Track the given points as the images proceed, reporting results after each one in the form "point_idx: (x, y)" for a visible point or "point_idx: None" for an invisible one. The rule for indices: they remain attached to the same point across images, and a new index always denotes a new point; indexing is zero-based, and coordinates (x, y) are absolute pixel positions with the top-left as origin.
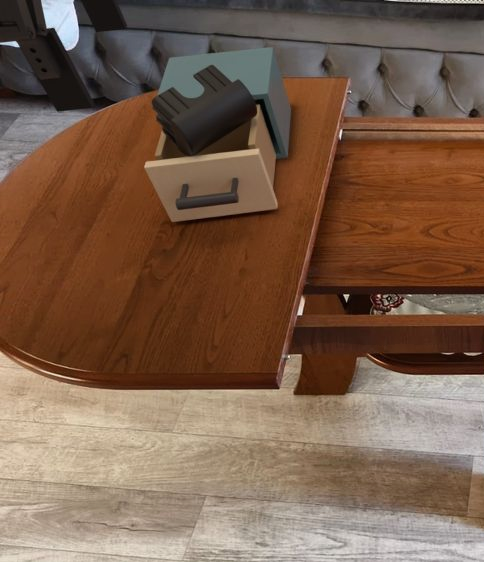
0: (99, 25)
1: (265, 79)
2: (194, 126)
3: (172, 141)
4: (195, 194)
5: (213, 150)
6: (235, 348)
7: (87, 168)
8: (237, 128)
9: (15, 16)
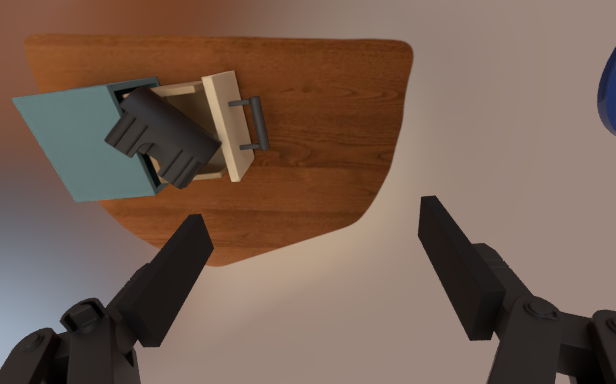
0: (207, 247)
1: (79, 93)
2: (202, 142)
3: None
4: (242, 140)
5: None
6: (388, 77)
7: None
8: None
9: None
